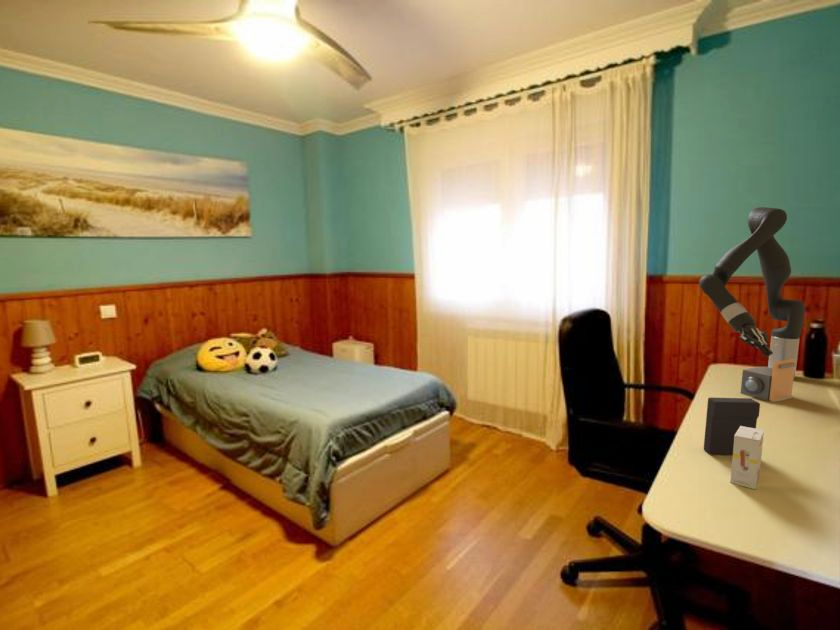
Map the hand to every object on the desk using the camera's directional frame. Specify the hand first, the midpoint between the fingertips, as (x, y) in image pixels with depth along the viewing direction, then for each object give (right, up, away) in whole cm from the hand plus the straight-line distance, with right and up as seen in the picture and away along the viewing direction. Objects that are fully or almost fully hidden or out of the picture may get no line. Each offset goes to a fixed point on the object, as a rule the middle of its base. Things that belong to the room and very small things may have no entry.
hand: (769, 355), depth 157 cm
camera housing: (-1, -16, +2) cm, 16 cm away
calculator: (-44, -23, -41) cm, 64 cm away
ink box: (-50, -25, -54) cm, 77 cm away
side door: (+2, -16, -2) cm, 16 cm away
